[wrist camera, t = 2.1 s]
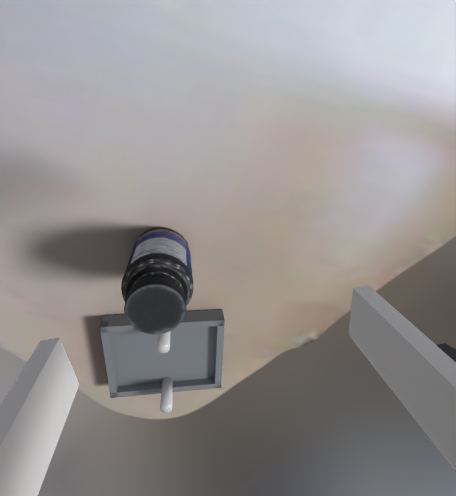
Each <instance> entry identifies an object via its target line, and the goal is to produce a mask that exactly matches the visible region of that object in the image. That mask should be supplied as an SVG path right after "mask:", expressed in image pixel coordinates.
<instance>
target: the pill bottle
mask: <svg viewBox="0 0 456 496" xmlns="http://www.w3.org/2000/svg"><path fill="white" fill-rule="evenodd" d="M121 286H122V287H121V289H122V295H123V298H124V301H125V307H124V311H125V316H126V319H127V321H128V322H129V323H130V324H131V326H133V327H134V328H135V329H137V330H139V331H140V332H143V333H147V334H163V333H166V332H169V331H171V330H173V329H175V328H176V327H177V326H178V325H179V324H180V323H181V322H182V321H183V319H184V316H185V313H186V306H187V304H188V303H189V301H190V299H191V297H192V293H193V278H192V268H191V257H190V250H189V246H188V243H187V241H186V240H185V239H184V237H182V235H180V234H179V233H177V232H175V231H173V230H171V229H167V228H156V229H152V230H149V231H147V232H145V233H144V234H143V235H141V236H140V238H139V239H138V240H137V242H136V243H135V245H134V248H133V251H132V254H131V257H130V260H129V263H128V266H127V269H126V271H125V274H124V277H123V280H122V285H121Z"/></svg>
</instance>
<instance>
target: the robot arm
mask: <svg viewBox="0 0 456 496" xmlns="http://www.w3.org/2000/svg"><path fill="white" fill-rule="evenodd" d="M349 336H350V337H351V338H352V340H353V341H354V342H355V343H356V345H357V346H358V347H359V349H360V350H361V351H362V352H363V353H364V355H365V356H366V357H367V359H368V360H369V361H370V363H371V364H372V365H373V366H374V368H375V369H376V370H377V372H378V373H379V374H380V375H381V377H382V378H383V379H384V380H385V382H386V383H387V384H388V385H389V387H390V388H391V389H392V391H393V392H394V393H395V394H396V396H397V397H398V398H399V399H400V401H401V402H402V403H403V405H404V406H405V407H406V409H407V410H408V411H409V412H410V414H411V415H412V416H413V417H414V419H415V420H416V421H417V422H418V424H419V425H420V426H421V428H422V429H423V430H424V431H425V433H426V434H427V435H428V437H429V438H430V439H431V440H432V441H433V443H434V444H435V445H436V447H437V448H438V449H439V451H440V452H441V453H442V454H443V456H444V457H445V458H446V459H447V461H448V462H449V463H450V465H451V466H452V467H453V468H454V470H455V471H456V349H454V348H452V347H451V346H449V345H447V344H445V343H444V344H439V345H435V344H434V343H433V342H432V341H431V340H430V339H428V338H427V337H426V336H425V335H424V334H423V333H421V331H419V330H418V329H417V328H416V327H415V326H414V325H413V324H411V323H410V322H409V321H408V320H407V319H406V318H404V317H403V316H402V315H401V314H400V313H399V312H398V311H397V310H396V309H394V308H393V307H392V306H391V305H390V304H389V303H388V302H386V301H385V300H384V299H383V298H382V297H381V296H380V295H379V294H377V293H376V292H375V291H374V290H373V289H372V288H371V287H370V286H364V287H358V288H353V295H352V305H351V316H350V326H349ZM78 387H79V383H78V380H77V378H76V376H75V373H74V371H73V368H72V366H71V364H70V361H69V359H68V357H67V354H66V352H65V349H64V347H63V345H62V342H61V340H60V338H55V339H49V340H43V341H40V343H39V344H38V346H37V347H36V349H35V351H34V352H33V354H32V355H31V357H30V359H29V360H28V362H27V363H26V365H25V367H24V368H23V370H22V371H21V373H20V375H19V377H18V378H17V380H16V381H15V383H14V384H13V386H12V388H11V389H10V391H9V392H8V394H7V396H6V397H5V399H4V400H3V402H2V404H1V405H0V496H37V495H38V493H39V490H40V488H41V485H42V482H43V479H44V477H45V474H46V471H47V469H48V466H49V463H50V461H51V458H52V455H53V453H54V450H55V448H56V445H57V442H58V440H59V437H60V434H61V432H62V429H63V426H64V424H65V421H66V418H67V415H68V413H69V410H70V408H71V405H72V402H73V400H74V397H75V394H76V391H77V389H78Z"/></svg>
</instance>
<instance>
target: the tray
mask: <svg viewBox="0 0 456 496" xmlns="http://www.w3.org/2000/svg"><path fill="white" fill-rule="evenodd" d="M224 321H225V320H224V316H223V311H222V309H217V310H197V311H186V313H185V316H184V319H183V321H182V322H181V323H180V324H179V325H178V326H177V327H176V328H175V329H173V330H171V331H169V332H166V333H163V334H147V333H143V332H140V331H139V330H137V329H135V328H134V327H133V326H131V324H130V323H129V322H128V321H127V319H126V316H125V314H117V315H104V317H103V320H102V322H101V325H100V332H101V339H102V345H103V352H104V358H105V365H106V371H107V377H108V384H109V390H110V397H111V398H114V397H125V396H136V395H147V394H158V393H161V405H160V410H161V411H162V412H165V413H166V412H170V411H171V410H172V396H173V392H179V391H190V390H201V389H212V388H221V376H222V358H223V339H224Z"/></svg>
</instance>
